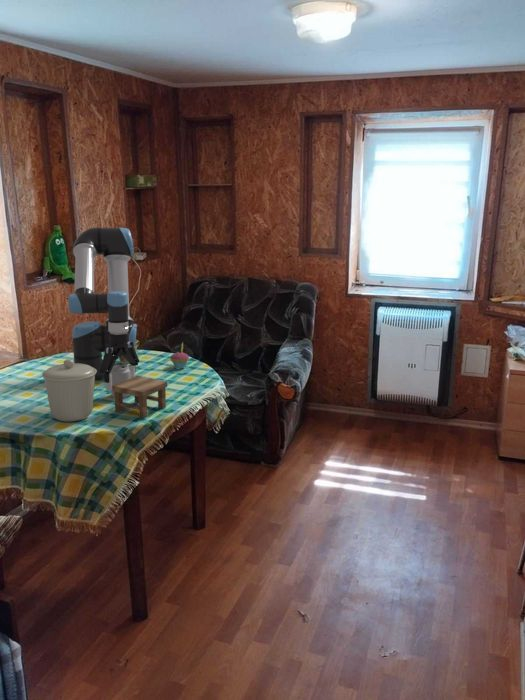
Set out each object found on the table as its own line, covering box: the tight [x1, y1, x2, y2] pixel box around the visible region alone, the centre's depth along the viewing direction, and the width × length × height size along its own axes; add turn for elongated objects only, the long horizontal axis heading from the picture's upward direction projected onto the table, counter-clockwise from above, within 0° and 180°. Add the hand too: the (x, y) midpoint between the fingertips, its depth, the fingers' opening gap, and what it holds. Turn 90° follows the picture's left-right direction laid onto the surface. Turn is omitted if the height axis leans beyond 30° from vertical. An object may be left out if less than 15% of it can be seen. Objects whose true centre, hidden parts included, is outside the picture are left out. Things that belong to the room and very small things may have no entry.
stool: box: [112, 375, 168, 419], centre depth 212 cm, size 14×14×10 cm
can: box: [110, 364, 130, 399], centre depth 226 cm, size 8×8×12 cm
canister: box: [41, 358, 97, 423], centre depth 202 cm, size 18×18×21 cm
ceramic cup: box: [118, 339, 140, 365], centre depth 273 cm, size 13×10×10 cm
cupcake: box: [169, 342, 190, 369], centre depth 265 cm, size 9×8×12 cm
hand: (120, 385), depth 226 cm, fingers open, 13 cm apart
